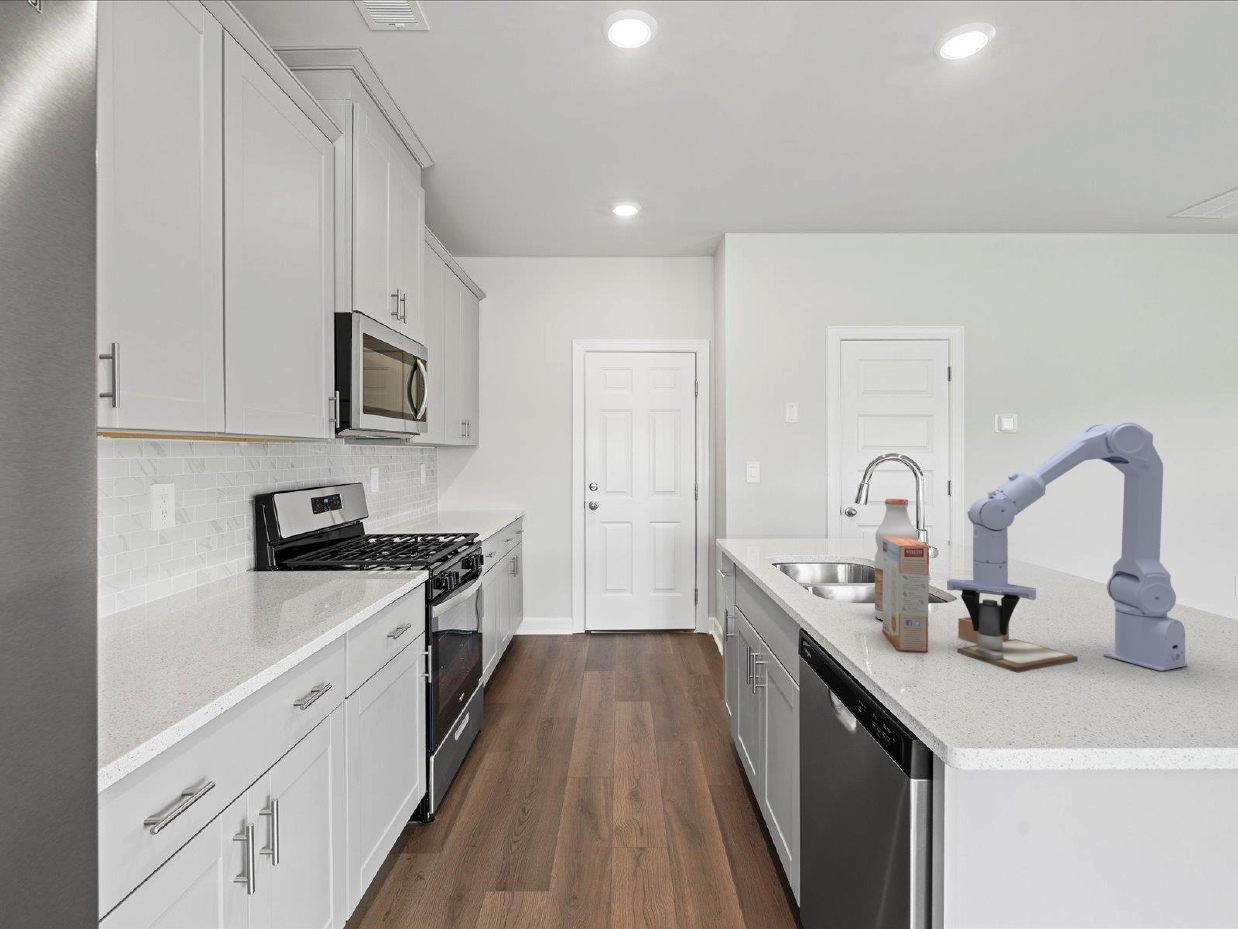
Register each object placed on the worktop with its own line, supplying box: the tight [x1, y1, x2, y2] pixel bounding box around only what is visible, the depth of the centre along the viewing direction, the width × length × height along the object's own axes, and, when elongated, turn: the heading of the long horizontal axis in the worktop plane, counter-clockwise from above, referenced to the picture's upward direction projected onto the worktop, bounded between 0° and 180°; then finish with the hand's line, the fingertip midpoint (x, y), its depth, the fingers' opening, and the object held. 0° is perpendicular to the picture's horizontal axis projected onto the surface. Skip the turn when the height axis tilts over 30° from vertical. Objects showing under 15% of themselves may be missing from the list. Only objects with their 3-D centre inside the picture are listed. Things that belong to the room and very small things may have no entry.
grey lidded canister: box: [977, 598, 1003, 650], centre depth 119 cm, size 4×4×9 cm
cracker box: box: [881, 537, 930, 653], centre depth 127 cm, size 14×6×21 cm, turn 168°
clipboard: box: [956, 638, 1079, 673], centre depth 118 cm, size 12×16×2 cm
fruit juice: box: [874, 498, 919, 620], centre depth 145 cm, size 9×9×28 cm
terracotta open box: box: [957, 616, 1010, 644], centre depth 128 cm, size 6×6×4 cm
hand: (990, 632), depth 119 cm, fingers closed on grey lidded canister, 4 cm apart
